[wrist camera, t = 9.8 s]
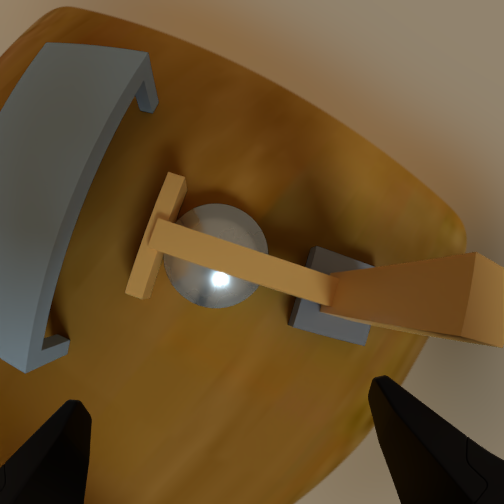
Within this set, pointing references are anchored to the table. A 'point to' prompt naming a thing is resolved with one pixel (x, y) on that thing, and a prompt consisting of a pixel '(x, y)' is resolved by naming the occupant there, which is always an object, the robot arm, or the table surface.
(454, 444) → the robot arm
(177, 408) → the table surface
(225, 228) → the silver metal disc
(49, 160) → the blue-grey bench
